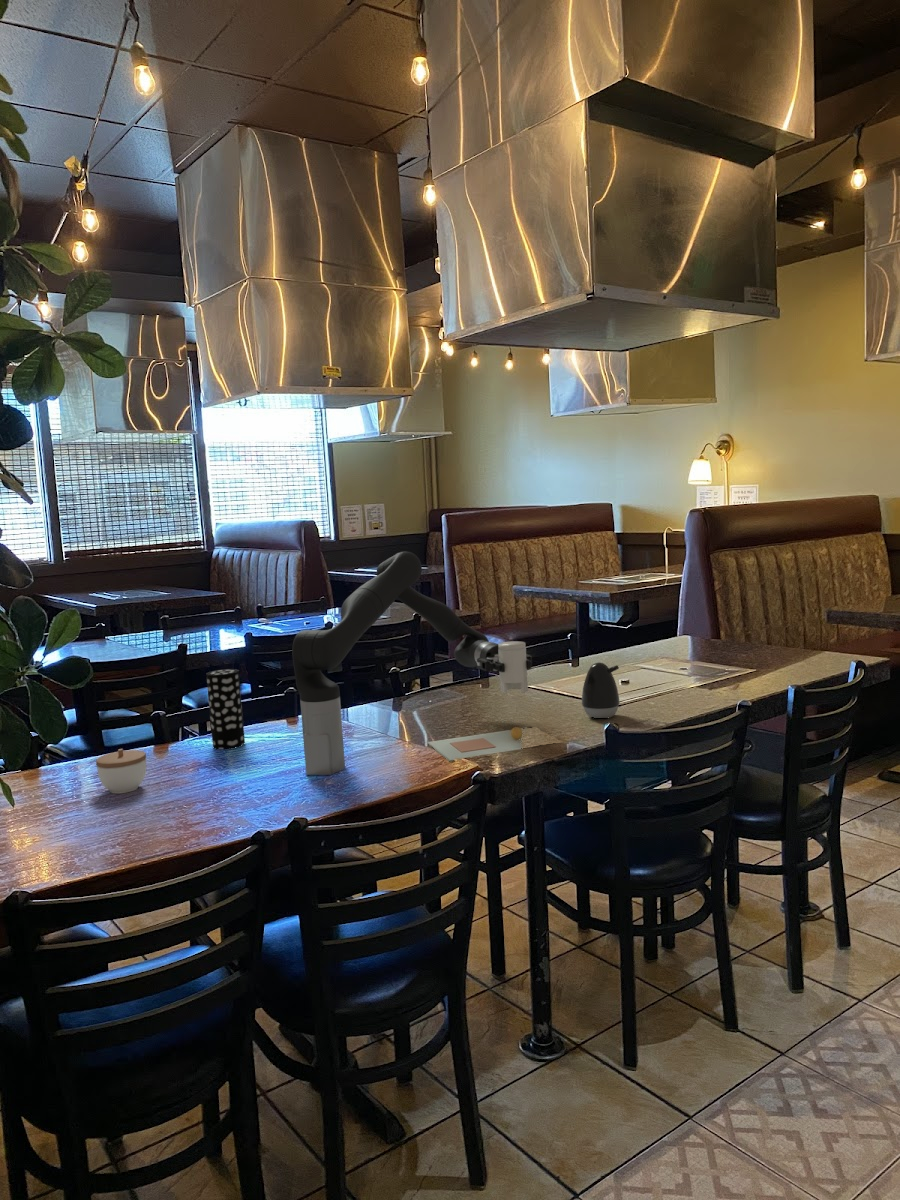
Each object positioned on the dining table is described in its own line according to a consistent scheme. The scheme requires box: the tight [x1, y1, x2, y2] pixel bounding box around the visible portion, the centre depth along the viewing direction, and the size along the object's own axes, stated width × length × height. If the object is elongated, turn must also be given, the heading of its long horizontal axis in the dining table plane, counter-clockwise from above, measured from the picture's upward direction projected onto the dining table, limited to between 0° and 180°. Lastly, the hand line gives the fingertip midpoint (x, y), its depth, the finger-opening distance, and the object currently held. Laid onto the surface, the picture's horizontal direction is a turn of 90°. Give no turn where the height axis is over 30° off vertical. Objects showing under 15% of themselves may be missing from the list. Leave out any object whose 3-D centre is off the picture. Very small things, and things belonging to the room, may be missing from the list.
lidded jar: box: [95, 748, 147, 795], centre depth 199 cm, size 11×11×9 cm
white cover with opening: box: [497, 640, 529, 695], centre depth 218 cm, size 7×7×12 cm
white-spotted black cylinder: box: [205, 668, 246, 750], centre depth 232 cm, size 8×8×20 cm
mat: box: [427, 727, 527, 763], centre depth 219 cm, size 30×18×1 cm, turn 108°
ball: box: [510, 726, 523, 739], centre depth 220 cm, size 3×3×3 cm
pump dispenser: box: [581, 662, 620, 719], centre depth 238 cm, size 10×10×15 cm
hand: (516, 666), depth 216 cm, fingers closed on white cover with opening, 6 cm apart
